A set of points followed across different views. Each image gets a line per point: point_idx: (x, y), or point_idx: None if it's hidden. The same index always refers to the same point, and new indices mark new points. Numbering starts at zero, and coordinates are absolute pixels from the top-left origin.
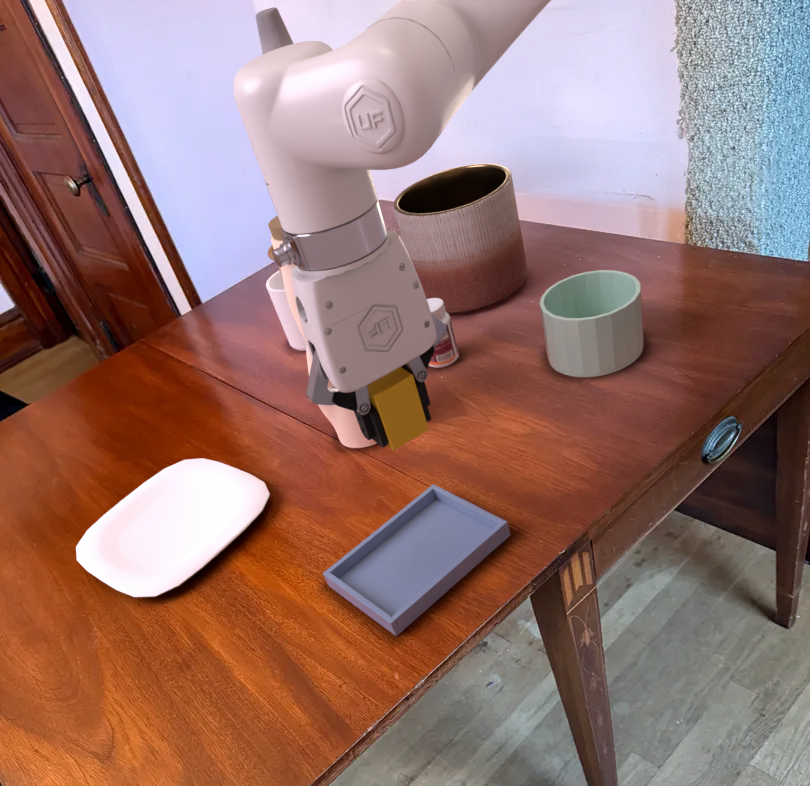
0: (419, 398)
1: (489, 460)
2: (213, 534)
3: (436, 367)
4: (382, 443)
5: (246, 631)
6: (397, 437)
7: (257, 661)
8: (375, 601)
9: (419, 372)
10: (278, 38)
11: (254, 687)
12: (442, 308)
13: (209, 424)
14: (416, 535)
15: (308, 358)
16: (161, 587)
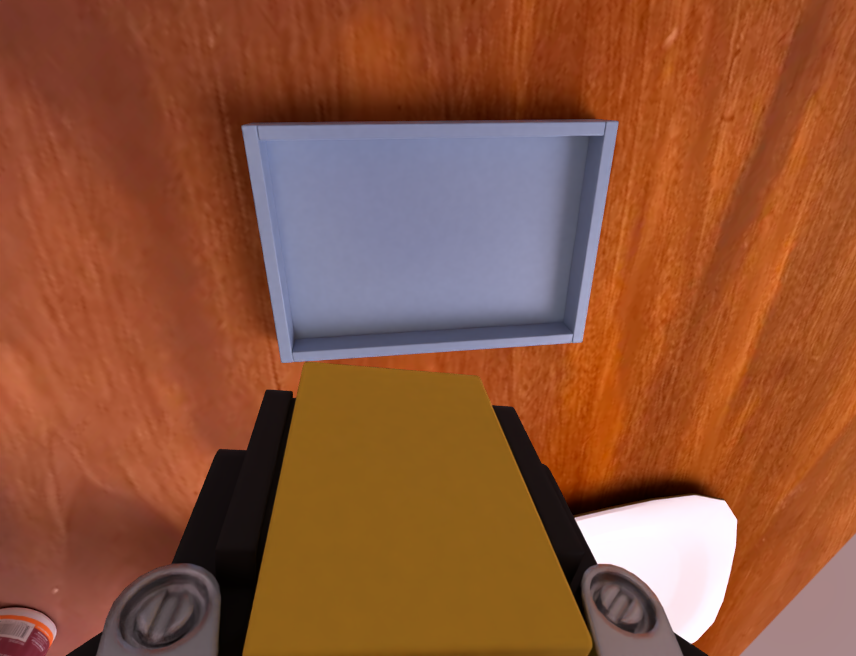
0: (282, 479)
1: (131, 342)
2: (589, 543)
3: (46, 616)
4: (516, 416)
5: (700, 352)
6: (456, 398)
7: (741, 287)
8: (560, 220)
9: (163, 643)
10: None
11: (784, 247)
12: None
13: None
14: (392, 291)
15: None
16: (711, 507)
